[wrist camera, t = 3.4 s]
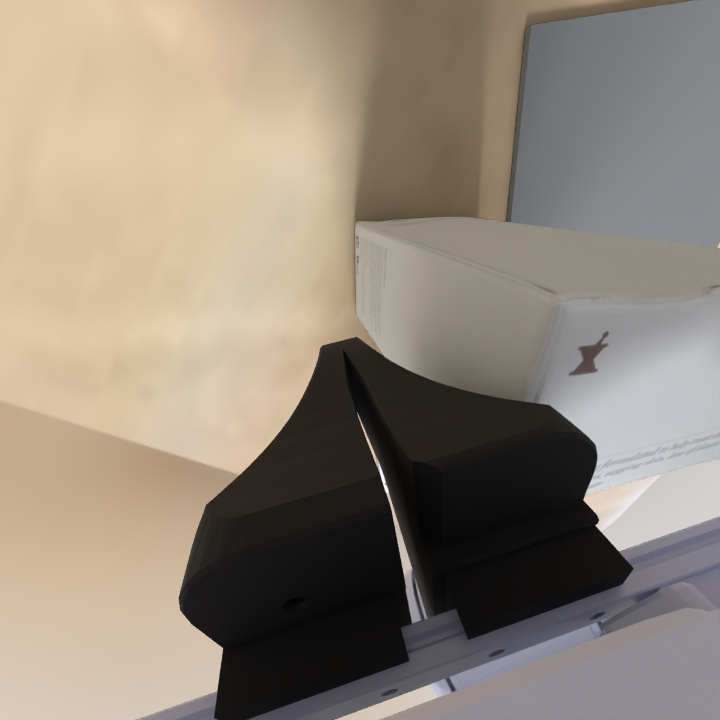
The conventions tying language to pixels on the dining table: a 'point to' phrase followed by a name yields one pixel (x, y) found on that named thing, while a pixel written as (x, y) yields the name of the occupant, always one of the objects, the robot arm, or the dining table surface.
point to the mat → (622, 125)
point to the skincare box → (557, 328)
